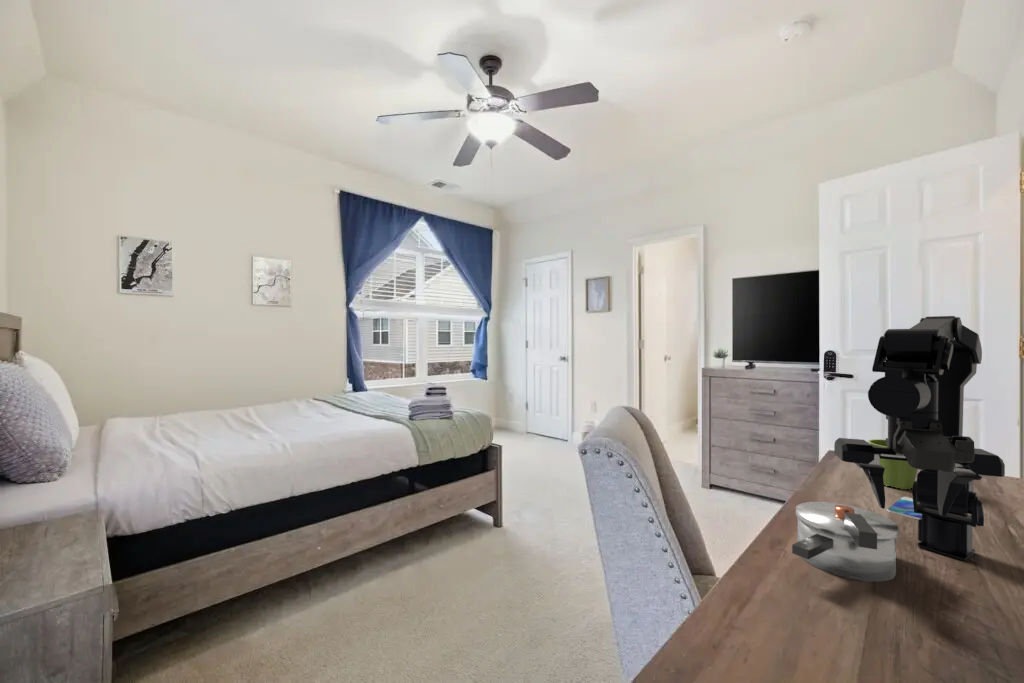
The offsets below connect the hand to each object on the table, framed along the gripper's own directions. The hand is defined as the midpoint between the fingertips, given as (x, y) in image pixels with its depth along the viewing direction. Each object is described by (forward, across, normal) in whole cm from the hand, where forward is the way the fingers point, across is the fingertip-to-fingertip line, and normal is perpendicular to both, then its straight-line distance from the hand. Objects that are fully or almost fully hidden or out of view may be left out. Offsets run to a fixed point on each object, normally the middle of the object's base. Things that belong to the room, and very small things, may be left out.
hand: (911, 511), depth 68 cm
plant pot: (+13, +17, +64) cm, 68 cm away
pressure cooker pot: (+13, -8, +7) cm, 17 cm away
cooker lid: (+6, -6, +6) cm, 11 cm away
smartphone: (+14, +15, +45) cm, 50 cm away
